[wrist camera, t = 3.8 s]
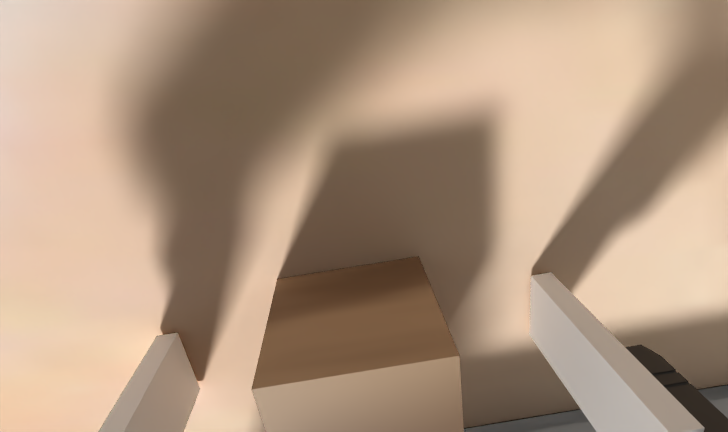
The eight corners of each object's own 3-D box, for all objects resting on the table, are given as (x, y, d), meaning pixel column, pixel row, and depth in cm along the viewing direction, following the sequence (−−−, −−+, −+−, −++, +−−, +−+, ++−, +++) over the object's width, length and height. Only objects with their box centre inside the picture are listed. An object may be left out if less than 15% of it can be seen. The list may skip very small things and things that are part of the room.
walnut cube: (277, 277, 14) (251, 389, 10) (418, 255, 14) (459, 355, 10) (305, 383, 16) (294, 518, 11) (428, 363, 16) (466, 489, 12)
